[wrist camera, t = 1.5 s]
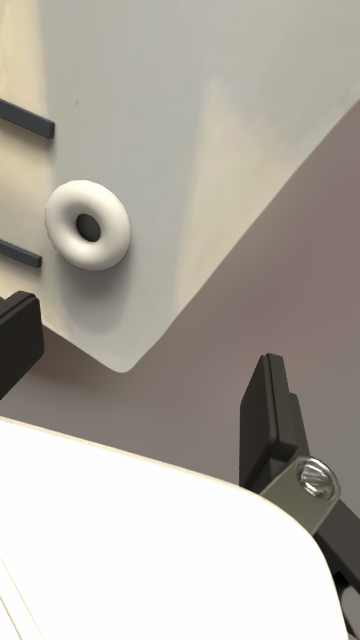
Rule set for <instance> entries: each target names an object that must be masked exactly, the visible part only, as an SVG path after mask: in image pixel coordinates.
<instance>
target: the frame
mask: <svg viewBox="0 0 360 640" xmlns="http://www.w3.org/2000/svg"><path fill="white" fill-rule="evenodd" d="M0 117H1V118H3V119H6V120H8V121H10V122H12V123H15V124H17V125H19V126H21V127H24V128H26V129H28V130H31V131H33V132H35V133H37V134H40V135H42V136H44V137H46V138H49V139H53V134H54V124H55V123H54V122H52V121H50V120H47V119H45V118H43V117H41V116H38V115H36V114H34V113H32V112H29V111H27V110H25V109H23V108H20V107H18V106H16V105H14V104H11V103H9V102H7V101H5V100H2V99H0ZM0 253H1V254H4V255H6V256H8V257H11V258H13V259H16V260H18V261H20V262H23V263H25V264H28V265H30V266H32V267H35V268H39V267H40V266H41V256H39V255H36V254H34V253H31V252H29V251H27V250H24V249H22V248H19V247H17V246H15V245H12V244H10V243H8V242H5V241H3V240H0Z"/></svg>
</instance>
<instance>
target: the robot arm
mask: <svg viewBox="0 0 360 640" xmlns="http://www.w3.org/2000/svg"><path fill="white" fill-rule="evenodd" d="M43 353H44V340H43V331H42V321H41V311H40V302H39V299H37V298H36V296H35V295H34V294H32V293H28V292H24V291H18V292H16V293H14V294H13V295H11V296H10V297H8V298H7V299H5V300H4V301H2V302H1V303H0V400H1V399H2V398H3V397H4V396H5V395H6V394H7V393H8V391H10V390H11V388H12V387H13V386H14V385H15V384H16V383H17V382H18V381H19V380H20V379H21V378H22V377H23V376H24V375H25V374H26V373H27V372H28V370H29V369H30V368H31V367H32V366H33V365H34V364H35V363H36V362H37V361H38V360H39V359H40V358H41V356H42V355H43ZM239 457H240V458H239V459H240V460H239V462H240V463H239V464H240V465H239V486H237V485H234V484H231V483H229V482H226V481H223V480H220V479H217V478H214V477H211V476H207V475H204V474H201V473H198V472H194V471H191V470H188V469H185V468H181V467H178V466H175V465H171V464H168V463H164V462H161V461H157V460H154V459H150V458H147V457H143V456H140V455H136V454H133V453H129V452H126V451H123V450H119V449H116V448H112V447H108V446H105V445H101V444H98V443H94V442H91V441H87V440H83V439H80V438H76V437H73V436H70V435H66V434H62V433H59V432H55V431H52V430H48V429H45V428H41V427H37V426H34V425H30V424H27V423H23V422H19V421H15V420H12V419H8V418H5V417H1V416H0V640H349V639H348V635H347V632H348V633H349V634H351V635H352V636H354V637H355V638H357V640H360V519H359V518H358V517H357V516H356V515H355V514H354V513H353V512H352V511H351V510H350V509H349V508H348V507H347V506H346V505H345V504H344V503H343V502H342V501H341V500H340V499H339V498H340V495H341V486H340V484H339V481H338V479H337V477H336V475H335V474H334V472H333V471H332V470H331V469H330V468H329V467H328V466H327V465H326V464H325V463H323V462H322V461H321V460H319V459H317V458H315V457H313V456H310V453H309V448H308V443H307V439H306V434H305V429H304V425H303V420H302V415H301V411H300V406H299V401H298V398H297V395H296V394H293V393H289V389H288V383H287V378H286V372H285V367H284V361H283V357H282V356H279V355H275V354H271V353H267V354H266V356H264V355H261V357H260V359H259V361H258V364H257V366H256V368H255V371H254V373H253V375H252V378H251V380H250V382H249V385H248V387H247V389H246V392H245V394H244V396H243V399H242V401H241V405H240V456H239Z"/></svg>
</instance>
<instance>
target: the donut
mask: <svg viewBox="0 0 360 640" xmlns="http://www.w3.org/2000/svg"><path fill="white" fill-rule="evenodd" d="M80 214H88V215H91V216H92V217H93V218H95V220H96V221H97V222H98V224H99V226H100V229H101V237H100V239H99V240H98V241H97V242H89V241H87V240H85V239H84V238H83V237H82V236H81V235H80V234H79V232H78V230H77V226H76V219H77V217H78V216H79V215H80ZM45 226H46V230H47V233H48V237H49V239H50V240H51V242H52V244H53V246H54V247H55V249H56V250H57V251H58V252H59V253H60V254H61V255H62V257H63V258H64V259H66V260H67V261H69V262H70V263H72V264H73V265H75V266H78V267H81V268H84V269H87V270H103V269H106V268H110V267H112V266H114V265H115V264H116V263H118V262H119V261H120V260H121V259H122V258H123V257H124V255H125V253H126V251H127V250H128V248H129V244H130V238H131V228H130V220H129V218H128V216H127V213H126V211H125V209H124V206H123V205H122V204H121V203H120V201H119V200H118V199H117V198H116V196H115V195H114V194H113V193H111V192H110V191H109V190H107V189H106V188H105V187H103V186H102V185H99V184H96V183H93V182H90V181H86V180H85V181H70V182H68V183H66V184H64V185H61V186H60V187H58V188H57V189H56V190H55V192H54V193H53V194H52V195H51V196H50V198H49V200H48V203H47V206H46V209H45Z"/></svg>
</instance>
